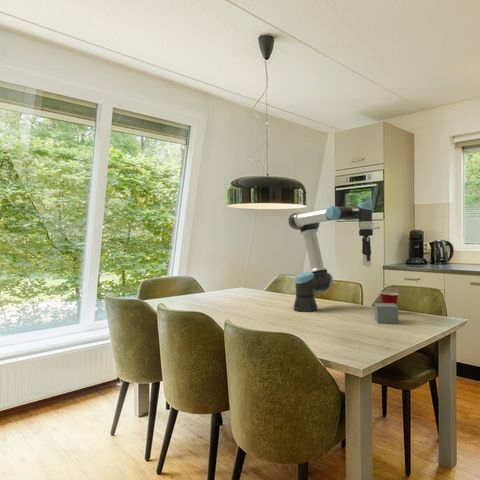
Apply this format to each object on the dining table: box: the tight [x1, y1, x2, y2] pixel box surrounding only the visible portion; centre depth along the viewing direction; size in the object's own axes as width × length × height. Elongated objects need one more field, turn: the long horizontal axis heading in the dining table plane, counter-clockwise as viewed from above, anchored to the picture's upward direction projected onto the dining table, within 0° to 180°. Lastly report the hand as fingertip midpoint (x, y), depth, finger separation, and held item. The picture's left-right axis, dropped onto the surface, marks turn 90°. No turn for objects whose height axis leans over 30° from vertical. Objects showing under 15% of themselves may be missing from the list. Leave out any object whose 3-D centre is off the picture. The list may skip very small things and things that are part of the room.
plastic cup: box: [379, 291, 400, 305], centre depth 223 cm, size 11×11×12 cm
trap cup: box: [373, 302, 399, 325], centre depth 200 cm, size 10×10×9 cm
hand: (366, 266), depth 214 cm, fingers open, 13 cm apart
